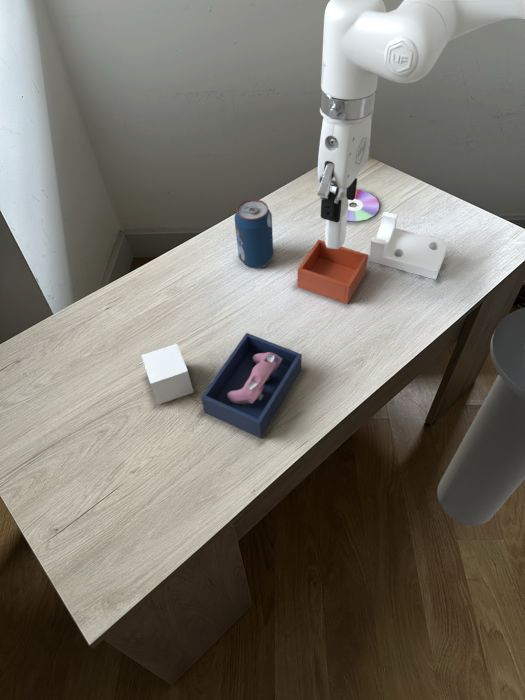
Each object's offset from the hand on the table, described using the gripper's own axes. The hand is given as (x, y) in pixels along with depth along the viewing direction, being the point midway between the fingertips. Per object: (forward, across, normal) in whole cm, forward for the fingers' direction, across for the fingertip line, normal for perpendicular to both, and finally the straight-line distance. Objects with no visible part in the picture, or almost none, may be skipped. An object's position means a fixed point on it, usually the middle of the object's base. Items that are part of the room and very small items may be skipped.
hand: (338, 207), depth 86 cm
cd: (+17, +23, +5) cm, 29 cm away
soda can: (+17, -1, +16) cm, 23 cm away
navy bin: (+17, -29, +1) cm, 33 cm away
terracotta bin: (+17, 0, 0) cm, 17 cm away
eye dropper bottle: (+7, 0, 0) cm, 7 cm away
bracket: (+17, +11, -11) cm, 23 cm away
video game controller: (+16, -28, +1) cm, 33 cm away
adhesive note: (+17, -34, +14) cm, 40 cm away
